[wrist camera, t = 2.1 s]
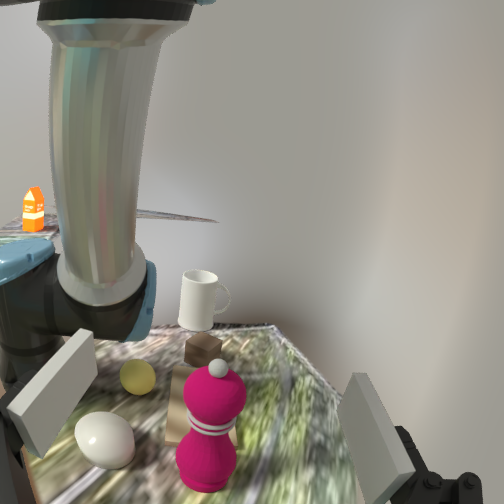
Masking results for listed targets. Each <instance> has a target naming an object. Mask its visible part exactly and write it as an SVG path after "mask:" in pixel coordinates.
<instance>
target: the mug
mask: <svg viewBox="0 0 504 504" xmlns="http://www.w3.org/2000/svg"><path fill="white" fill-rule="evenodd" d="M217 288H221V289H223V290H225V291H226V292H227V293H228V296H229V302H228V304H227V306H226V307H225V308H224V309H222V310H218V311H216V310H214V308H215V300H216V293H217ZM230 303H231V295H230V292H229V290H228V289H227V288H226V287H225V286H224V285H222V284H220V283H219V282H218V277H217V276H216V275H215V274H213V273H211V272H207V271H203V270H189V271H186V272H184V273H183V278H182V289H181V299H180V311H179V318H178V323H179V325H180V326H181V327H183V328H184V329H187V330H189V331H194V332H200V331H202V332H203V331H207V330H209V329H211V328H212V327H213V316H214V315H218V314H221V313H223V312H224V311H226V310H227V309H228V307H229V306H230Z"/></svg>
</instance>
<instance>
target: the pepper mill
mask: <svg viewBox="0 0 504 504" xmlns="http://www.w3.org/2000/svg"><path fill="white" fill-rule="evenodd" d="M183 399H184V402H185V405H186V406H187V420H188V423H189V424H190V425H191V429H190V432H189V433H188V434H186V435H185V436H184V437H183V438H182V440H181V441H180V443H179V445H178V447H177V450H176V463H177V466H178V467H179V469H180V477H181V479H182V481H183V482H184V484H185V485H186V486H188V487H189V488H191V489H193V490H195V491H198V492H203V493H209V492H215V491H217V490H219V489H221V488H222V487H223V486H225V484H226V482H227V480H228V477H229V476H230V475H231V474H232V472H233V471H234V469H235V466H236V451H235V448H234V445H233V443H232V441H231V439H230V437H229V431H231V430H232V429H233V427H234V426H235V424H236V419H237V415H238V414H239V413H240V412H241V411H242V410H243V407H244V405H245V402H246V388H245V385H244V383H243V381H242V379H241V378H240V377H239V375H238V374H236V373H235V372H234V371H232V370H230V369H228V365H227V363H226V362H225V361H224V360H223V359H214V360H212V361H211V362H210V364H209V366H204V367H201V368H199V369H197V370H195V371H194V372H193V373H191V374H190V375H189V377H188V378H187V380H186V382H185V384H184V389H183Z"/></svg>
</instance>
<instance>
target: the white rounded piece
mask: <svg viewBox="0 0 504 504" xmlns="http://www.w3.org/2000/svg"><path fill="white" fill-rule="evenodd" d="M75 437H76V440H77V442H78V445H79V448H80V450H81V453H82V455H83V456H84V458H85V459H86V460H87V461H88V462H89V463H91V464H92V465H94V466H96V467H98V468H102V469H108V470H112V469H119V468H122V467H124V466H126V465H127V464H129V463H130V462H131V461H132V459H133V458H134V456H135V451H136V449H135V442H134V435H133V430H132V428H131V426H130V424H129V423H128V422H127V421H126V420H125V419H123V418H122V417H120V416H118V415H116V414H114V413H110V412H94V413H90V414H88V415H86V416H84V417H82V418H81V419H80V420H79V421H78V423H77V425H76V427H75Z"/></svg>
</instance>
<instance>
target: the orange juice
mask: <svg viewBox="0 0 504 504" xmlns="http://www.w3.org/2000/svg"><path fill="white" fill-rule="evenodd" d="M43 216H44V198H43V195H42V193H41V191H40V188H39V187H34V188H30V189H29V190H28V192H27V194H26V196H25V198H24V200H23V231H30V232H36V231H38V230H40V229H42V228H43Z"/></svg>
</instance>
